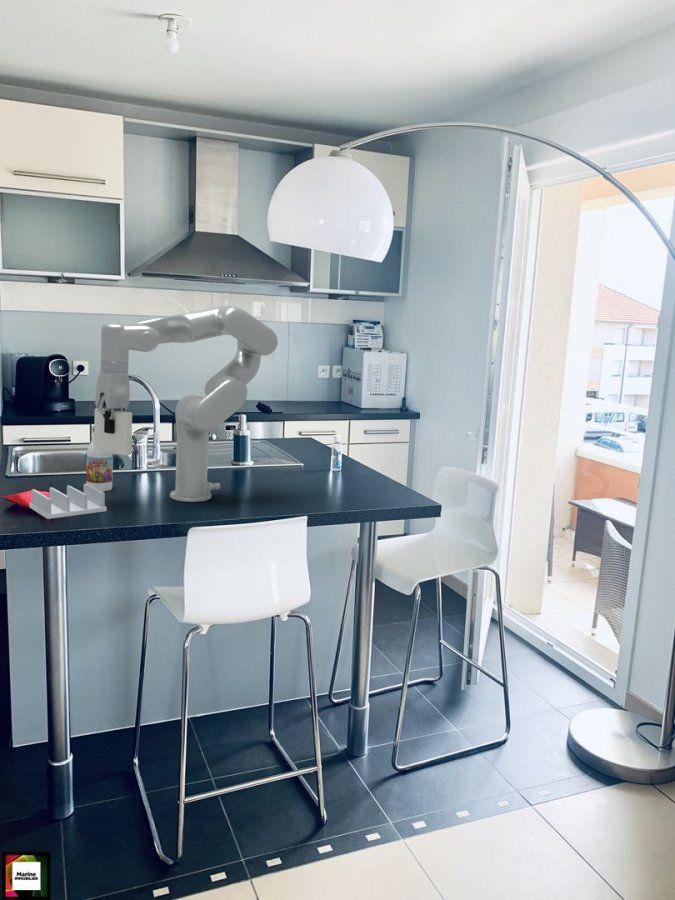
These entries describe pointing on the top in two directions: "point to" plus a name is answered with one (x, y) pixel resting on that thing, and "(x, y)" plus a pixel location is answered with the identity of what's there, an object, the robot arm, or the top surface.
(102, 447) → the plate
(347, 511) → the top surface
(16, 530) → the top surface
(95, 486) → the milk bottle
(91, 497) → the dish rack
